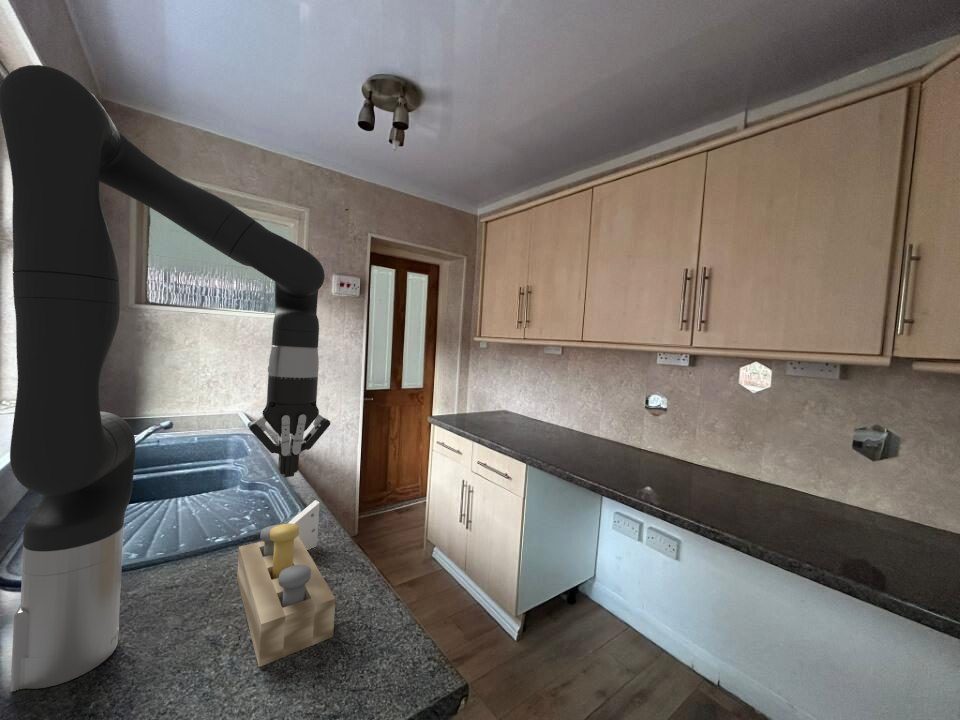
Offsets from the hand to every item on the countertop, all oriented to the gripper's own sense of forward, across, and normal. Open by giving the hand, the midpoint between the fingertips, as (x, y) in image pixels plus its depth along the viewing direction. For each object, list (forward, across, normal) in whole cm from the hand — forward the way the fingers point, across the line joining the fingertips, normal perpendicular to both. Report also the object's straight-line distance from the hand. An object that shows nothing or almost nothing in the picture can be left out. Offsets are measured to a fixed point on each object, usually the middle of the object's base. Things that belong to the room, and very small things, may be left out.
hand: (288, 475), depth 64 cm
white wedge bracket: (+22, +7, +17) cm, 29 cm away
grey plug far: (+22, 0, +8) cm, 23 cm away
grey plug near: (+22, 0, -8) cm, 23 cm away
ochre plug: (+18, 0, 0) cm, 18 cm away
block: (+22, 0, 0) cm, 22 cm away
